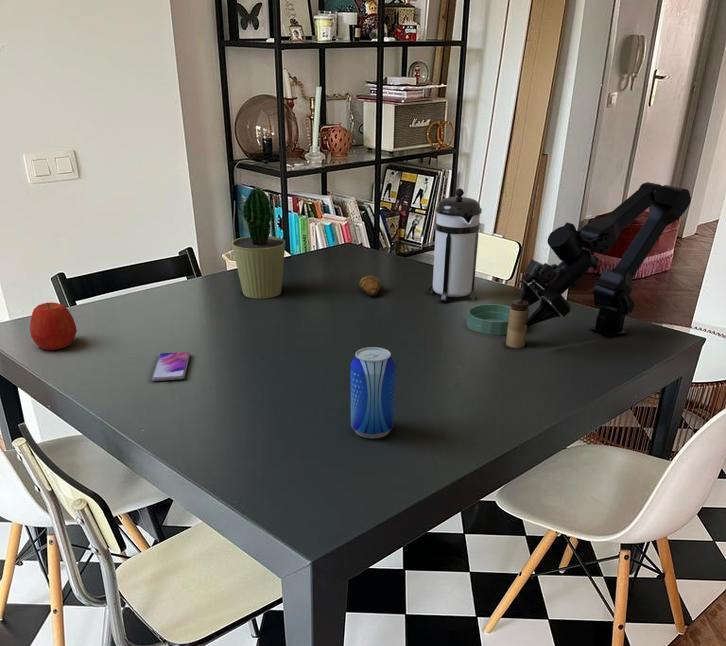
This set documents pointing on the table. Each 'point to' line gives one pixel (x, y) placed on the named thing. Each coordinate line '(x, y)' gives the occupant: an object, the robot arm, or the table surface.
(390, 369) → the beer can
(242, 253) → the potted cactus
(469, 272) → the coffee press
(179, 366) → the smartphone
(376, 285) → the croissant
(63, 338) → the apple
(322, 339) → the table surface
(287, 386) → the table surface
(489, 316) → the bowl
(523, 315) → the pepper mill
